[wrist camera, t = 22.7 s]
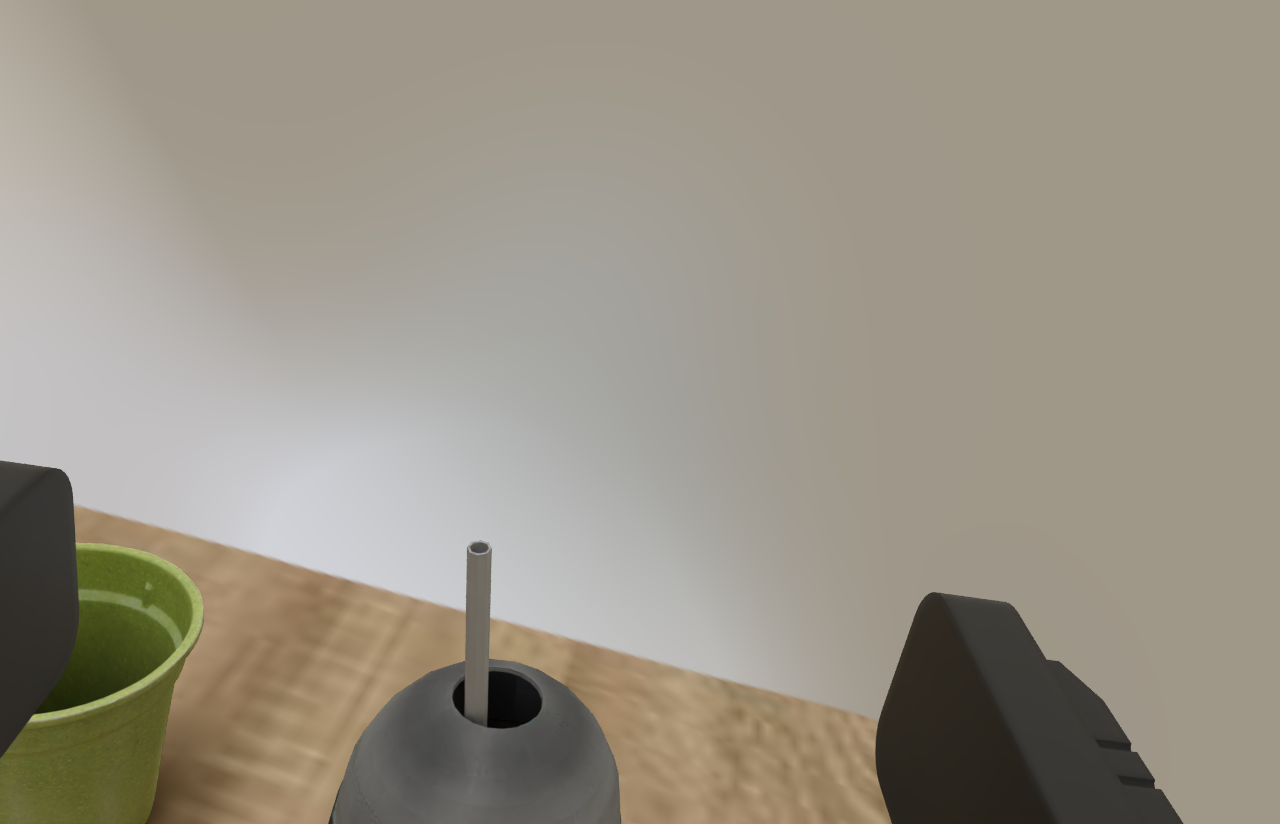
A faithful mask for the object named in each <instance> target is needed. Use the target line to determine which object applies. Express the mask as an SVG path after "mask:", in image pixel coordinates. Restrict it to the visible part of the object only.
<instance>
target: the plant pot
mask: <svg viewBox="0 0 1280 824" xmlns="http://www.w3.org/2000/svg"><path fill="white" fill-rule="evenodd" d="M76 560H77V578H78V596H79V625H78V631H77V636H76V640H75V644H74V648H73V651H72V654H71V657H70V659H69V662H68V664H67V666H66V669H65V671H64V672H63V674H62V676H61V678H60V679H59V681H58V682H57V684H56V685H55V687H54V688H53V689H52V691H51V692H50V693H49V695H48V696H47V697H46V699H45V700H44V701H43V703H42V704H41V705H40V707H39V708H38V709H37V711H36V712H35V713H34V715H33V716H32V717H31V719H30V720H29V721H28V723H27V724H26V725H25V727H24V728H23V729H22V731H21V732H20V733H19V735H18V736H17V737H16V739H15V740H14V741H13V743H12V744H11V745H10V747H9V748H8V749H7V751H6V752H5V753H4V755H3V756H2V757H1V759H0V824H145V823H146V822H147V820H148V818H149V815H150V813H151V809H152V806H153V803H154V798H155V793H156V787H157V781H158V775H159V768H160V762H161V756H162V749H163V743H164V738H165V732H166V726H167V721H168V715H169V710H170V705H171V699H172V694H173V688H174V683H175V682H176V680H177V679H178V677H179V675H180V673H181V671H182V668H183V665H184V662H185V658H186V657H187V656H188V655H189V653H190V652H191V651H192V649H193V648H194V646H195V644H196V643H197V641H198V638H199V636H200V633H201V630H202V627H203V621H204V605H203V600H202V596H201V594H200V591H199V589H198V588H197V586H196V585H195V584H194V582H193V581H192V580H191V579H190V578H189V577H188V576H187V575H186V574H185V573H184V572H183V571H182V570H180V569H179V568H178V567H177V566H175V565H174V564H172V563H170V562H168V561H166V560H164V559H162V558H160V557H157V556H155V555H153V554H150V553H147V552H144V551H141V550H137V549H132V548H127V547H122V546H117V545H107V544H100V543H76Z"/></svg>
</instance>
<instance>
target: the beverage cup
mask: <svg viewBox="0 0 1280 824" xmlns="http://www.w3.org/2000/svg"><path fill="white" fill-rule="evenodd" d="M491 553H492V549H491V546H490V544H489V543H487V542H484V541H475V542H472V543H470V545H469V546H468V547H467V589H466V590H467V591H466V652H465V661H463V662H460V663H456V664H453V665H450V666H447V667H444V668H441V669H438V670H435V671H431V672H429V673H428V674H426V675H425V676H423V677H422V678H420V679H418V680H417V681H415V682H414V683H412V684H411V685H409V686H408V687H406V688H405V689H403V690H402V691H400V692H398V693H397V694H395V695H394V696H393V697H392V698H391V699H390V701H389V702H388V703H387V704H386V705H385V706H384V707H383V708H382V709H381V711H380V712H379V713H378V714H377V716H376V717H375V718H374V719H373V721H372V722H371V723H370V724H369V726H368V727H367V728H366V729H365V731H364V732H363V734H362V735H361V737H360V739H359V740H358V742H357V743H356V745H355V747H354V749H353V752H352V755H351V757H350V760H349V763H348V766H347V769H346V772H345V776H344V779H343V781H342V783H341V786H340V788H339V790H338V793H337V797H336V800H335V803H334V806H333V810H332V813H331V816H330V820H329V823H328V824H621V815H620V791H619V776H618V770H617V767H616V763H615V759H614V756H613V754H612V752H611V750H610V747H609V745H608V743H607V741H606V738H605V736H604V734H603V732H602V729H601V728H600V726H599V724H598V722H597V720H596V718H595V716H594V715H593V714H592V713H591V712H590V711H589V709H588V708H587V707H586V706H585V705H584V704H583V703H582V702H581V701H580V700H579V699H578V698H577V696H576V695H575V694H574V693H573V692H572V691H571V690H570V689H569V688H568V687H567V686H565V685H563V684H562V683H560V682H558V681H557V680H555V679H553V678H552V677H550V676H548V675H547V674H545V673H543V672H542V671H540V670H538V669H535V668H532V667H529V666H526V665H523V664H520V663H517V662H513V661H504V660H495V659H489V633H490V594H491Z"/></svg>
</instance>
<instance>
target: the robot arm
mask: <svg viewBox="0 0 1280 824" xmlns="http://www.w3.org/2000/svg"><path fill="white" fill-rule="evenodd" d="M78 625H79V596H78V578H77V560H76V542H75V524H74V507H73V493H72V487H71V483H70V481H69V478H68V476H67V475H66V474H65V472H63V471H62V470H60V469H57V468H49V467H42V466H35V465H28V464H21V463H14V462H6V461H0V759H1V757H2V756H3V755H4V753H5V752H6V751H7V749H8V748H9V747H10V745H11V744H12V743H13V741H14V740H15V739H16V737H17V736H18V735H19V733H20V732H21V731H22V729H23V728H24V727H25V725H26V724H27V723H28V721H29V720H30V719H31V717H32V716H33V715H34V713H35V712H36V711H37V709H38V708H39V707H40V705H41V704H42V703H43V701H44V700H45V699H46V697H47V696H48V695H49V693H50V692H51V691H52V689H53V688H54V687H55V685H56V684H57V682H58V681H59V679H60V678H61V676H62V674H63V672H64V671H65V669H66V666H67V664H68V662H69V659H70V657H71V654H72V651H73V648H74V644H75V640H76V636H77V631H78ZM876 769H877V775H878V780H879V784H880V787H881V790H882V794H883V797H884V800H885V803H886V806H887V809H888V812H889V815H890V819H891V822H892V824H1183V822H1182V821H1181V819H1180V818H1179V816H1178V815H1177V813H1176V812H1175V810H1174V809H1173V807H1172V805H1171V804H1170V802H1169V801H1168V799H1167V798H1166V796H1165V795H1164V793H1163V792H1162V790H1160V789H1155V787H1154V782H1155V779H1154V778H1153V776H1152V775H1151V773H1150V772H1149V770H1148V768H1147V767H1146V766H1145V764H1144V762H1143V761H1142V760H1141V758H1140V756H1139V755H1138V753H1137V752H1131V743H1130V741H1129V739H1128V738H1127V736H1126V735H1125V733H1124V732H1123V730H1122V729H1121V727H1120V725H1119V724H1118V722H1117V721H1116V719H1115V718H1114V716H1113V715H1112V713H1111V712H1110V710H1109V708H1108V707H1107V705H1106V704H1105V702H1104V701H1103V700H1102V699H1101V698H1100V697H1099V696H1097V694H1095V693H1094V692H1093V691H1092V690H1091V689H1090V688H1089V687H1087V686H1086V685H1085V684H1084V683H1083V682H1082V681H1081V680H1080V679H1078V678H1077V677H1076V676H1075V675H1074V674H1073V673H1072V672H1071V671H1069V670H1068V669H1067V668H1066V667H1065V666H1064V665H1063V664H1061V663H1060V662H1059V661H1053V660H1046V658H1045V656H1044V655H1043V653H1042V652H1041V650H1040V648H1039V646H1038V645H1037V643H1036V641H1035V640H1034V638H1033V637H1032V635H1031V633H1030V632H1029V630H1028V628H1027V627H1026V625H1025V624H1024V622H1023V620H1022V618H1021V617H1020V615H1019V614H1018V612H1017V611H1016V609H1015V608H1014V607H1013V606H1012V605H1011V604H1009V603H1007V602H1000V601H994V600H987V599H979V598H972V597H965V596H957V595H951V594H943V593H936V592H932V593H930V594H928V595H927V596H926V597H925V598H924V599H923V600H922V602H921V603H920V605H919V607H918V609H917V612H916V614H915V617H914V620H913V623H912V626H911V628H910V631H909V634H908V637H907V640H906V643H905V646H904V648H903V651H902V654H901V657H900V660H899V663H898V666H897V669H896V671H895V674H894V677H893V680H892V683H891V686H890V689H889V692H888V694H887V697H886V700H885V703H884V706H883V709H882V712H881V715H880V718H879V723H878V728H877V735H876Z"/></svg>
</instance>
